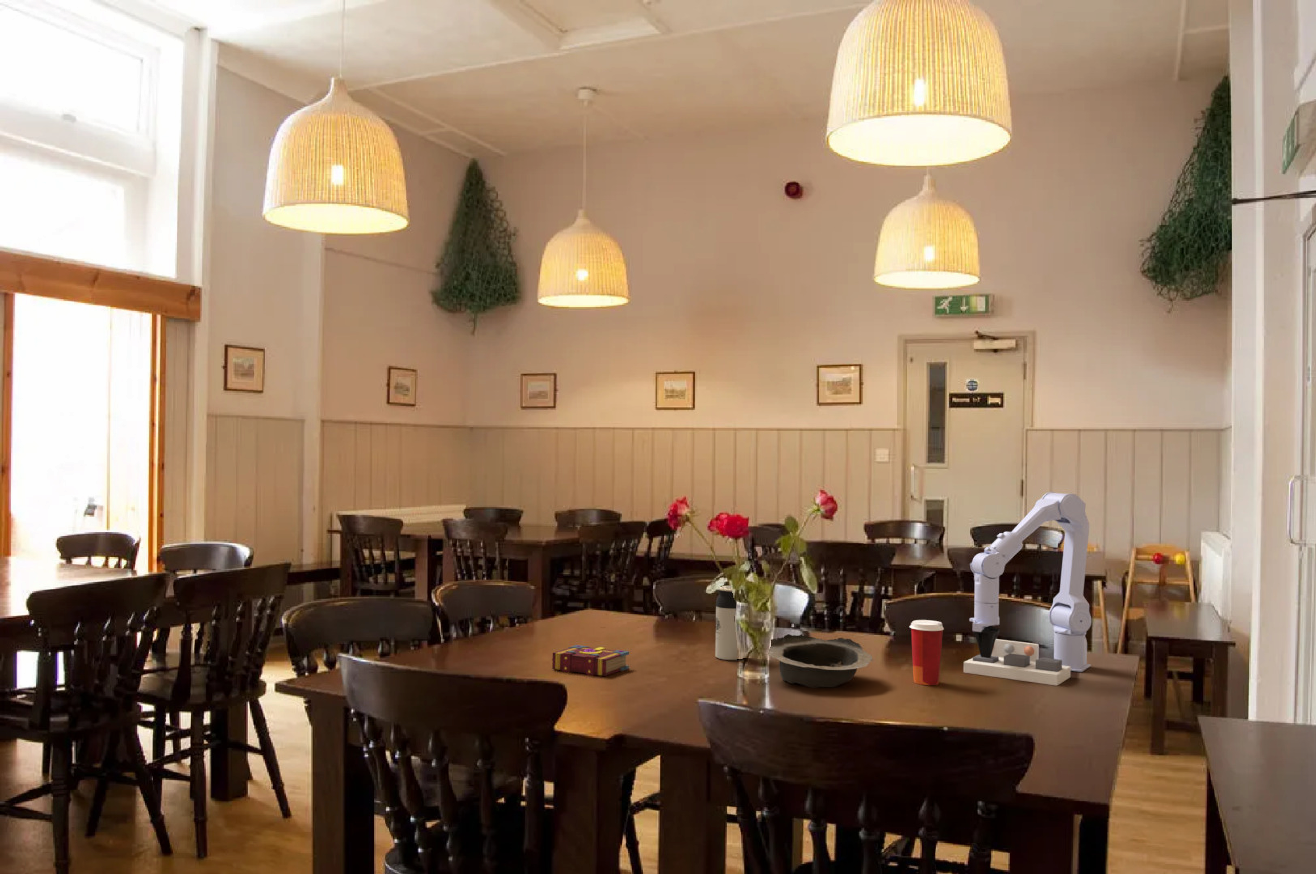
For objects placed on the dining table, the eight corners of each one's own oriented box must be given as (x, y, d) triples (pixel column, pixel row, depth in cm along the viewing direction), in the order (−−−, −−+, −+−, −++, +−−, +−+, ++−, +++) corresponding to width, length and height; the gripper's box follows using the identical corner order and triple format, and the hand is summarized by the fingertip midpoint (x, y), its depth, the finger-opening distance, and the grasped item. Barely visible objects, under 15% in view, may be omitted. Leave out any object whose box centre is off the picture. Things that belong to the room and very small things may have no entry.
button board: (979, 664, 260) (979, 654, 260) (1070, 677, 247) (1070, 666, 247) (963, 672, 250) (963, 662, 250) (1057, 685, 237) (1057, 674, 237)
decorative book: (605, 678, 238) (605, 657, 238) (547, 670, 245) (547, 649, 245) (628, 670, 248) (629, 649, 248) (572, 662, 255) (572, 642, 255)
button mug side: (979, 666, 256) (979, 654, 256) (998, 668, 253) (998, 657, 253) (972, 669, 252) (973, 657, 252) (992, 671, 249) (992, 659, 249)
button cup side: (1041, 669, 247) (1041, 657, 247) (1061, 672, 245) (1061, 660, 245) (1035, 672, 243) (1035, 660, 243) (1056, 675, 241) (1056, 663, 241)
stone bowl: (798, 664, 255) (801, 627, 255) (889, 688, 239) (893, 648, 239) (741, 678, 236) (745, 638, 236) (836, 705, 220) (840, 662, 220)
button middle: (1009, 665, 252) (1009, 653, 252) (1029, 667, 249) (1029, 655, 249) (1003, 668, 248) (1003, 656, 248) (1023, 671, 245) (1024, 658, 245)
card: (982, 660, 265) (983, 637, 265) (1038, 668, 256) (1038, 644, 257) (980, 661, 264) (981, 638, 264) (1036, 669, 255) (1037, 645, 255)
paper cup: (947, 681, 239) (947, 621, 239) (938, 688, 233) (938, 626, 233) (914, 677, 243) (914, 618, 243) (904, 683, 237) (905, 622, 237)
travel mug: (746, 655, 266) (747, 586, 267) (746, 661, 259) (747, 590, 259) (716, 654, 267) (717, 585, 268) (714, 660, 259) (715, 589, 260)
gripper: (980, 597, 261) (979, 651, 261) (960, 603, 249) (959, 659, 249) (1008, 600, 257) (1007, 654, 257) (989, 606, 245) (988, 663, 245)
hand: (985, 657), depth 253 cm, fingers closed, pressing on button mug side
